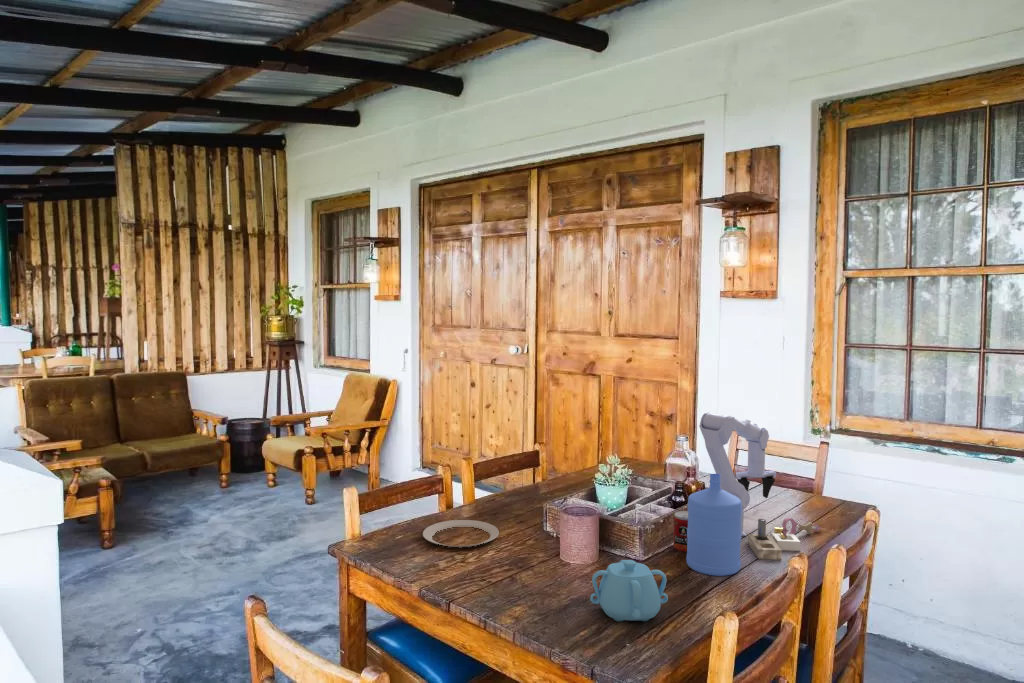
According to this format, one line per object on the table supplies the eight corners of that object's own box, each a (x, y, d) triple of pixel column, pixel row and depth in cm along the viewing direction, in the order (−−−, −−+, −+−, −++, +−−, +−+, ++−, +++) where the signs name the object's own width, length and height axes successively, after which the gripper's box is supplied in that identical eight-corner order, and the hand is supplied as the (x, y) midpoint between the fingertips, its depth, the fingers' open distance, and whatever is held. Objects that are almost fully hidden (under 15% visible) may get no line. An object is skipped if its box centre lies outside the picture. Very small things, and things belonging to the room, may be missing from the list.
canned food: (670, 549, 223) (671, 516, 222) (677, 541, 230) (677, 509, 229) (694, 553, 219) (695, 519, 218) (700, 545, 226) (701, 512, 225)
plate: (464, 557, 216) (464, 551, 215) (406, 540, 231) (406, 534, 231) (514, 535, 236) (514, 529, 236) (457, 520, 251) (457, 515, 251)
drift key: (779, 542, 228) (779, 533, 228) (774, 535, 234) (774, 527, 234) (788, 542, 228) (788, 534, 228) (782, 535, 234) (782, 527, 234)
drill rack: (758, 558, 215) (758, 549, 215) (747, 542, 229) (748, 533, 229) (781, 559, 214) (781, 550, 214) (769, 543, 228) (769, 534, 228)
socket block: (777, 549, 223) (777, 540, 222) (764, 533, 239) (765, 524, 238) (799, 550, 222) (800, 541, 222) (785, 533, 238) (786, 525, 238)
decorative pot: (626, 594, 190) (626, 545, 189) (674, 614, 177) (674, 562, 176) (584, 611, 179) (584, 560, 178) (632, 634, 167) (632, 579, 166)
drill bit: (758, 548, 224) (759, 521, 224) (756, 545, 226) (757, 518, 226) (765, 548, 224) (766, 521, 223) (764, 546, 226) (765, 519, 226)
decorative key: (821, 538, 241) (783, 538, 231) (818, 537, 242) (780, 537, 232) (824, 519, 241) (786, 518, 231) (821, 518, 242) (783, 517, 232)
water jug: (743, 579, 200) (746, 483, 198) (687, 574, 203) (689, 480, 201) (737, 559, 215) (739, 470, 213) (685, 555, 218) (686, 467, 216)
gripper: (742, 463, 241) (741, 501, 242) (781, 462, 244) (780, 499, 245) (733, 458, 248) (732, 496, 249) (770, 457, 251) (769, 494, 252)
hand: (755, 497), depth 247 cm, fingers open, 7 cm apart
